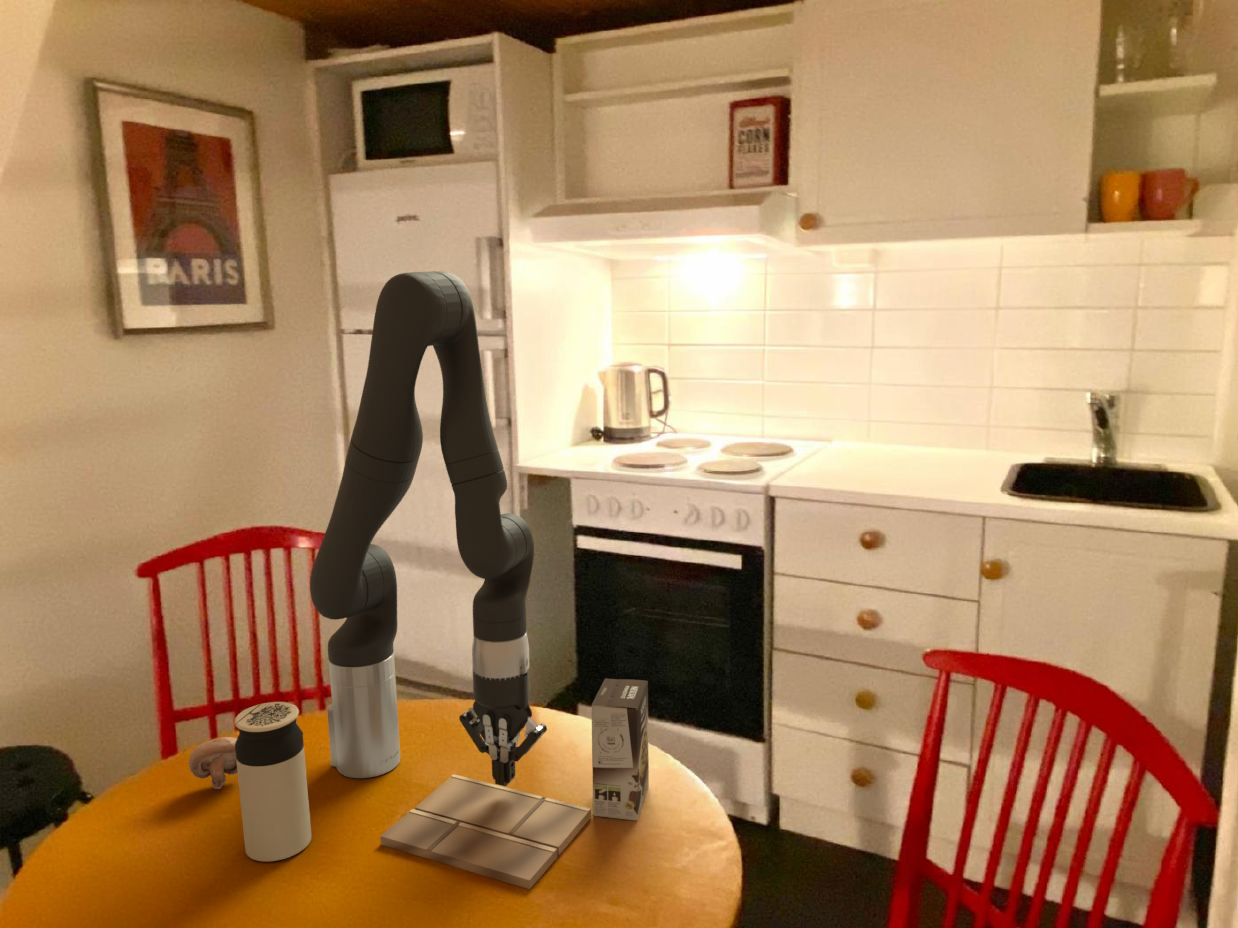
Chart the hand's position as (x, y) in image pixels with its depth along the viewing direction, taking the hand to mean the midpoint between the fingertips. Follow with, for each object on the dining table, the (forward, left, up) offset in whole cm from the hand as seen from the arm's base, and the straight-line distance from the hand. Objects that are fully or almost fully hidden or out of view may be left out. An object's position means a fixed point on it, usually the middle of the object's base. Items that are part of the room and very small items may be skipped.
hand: (504, 782), depth 126 cm
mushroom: (-40, -13, -4) cm, 42 cm away
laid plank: (+1, -11, -3) cm, 12 cm away
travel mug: (-22, -20, -4) cm, 29 cm away
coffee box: (+14, +7, -4) cm, 17 cm away
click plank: (+1, -3, -3) cm, 4 cm away
